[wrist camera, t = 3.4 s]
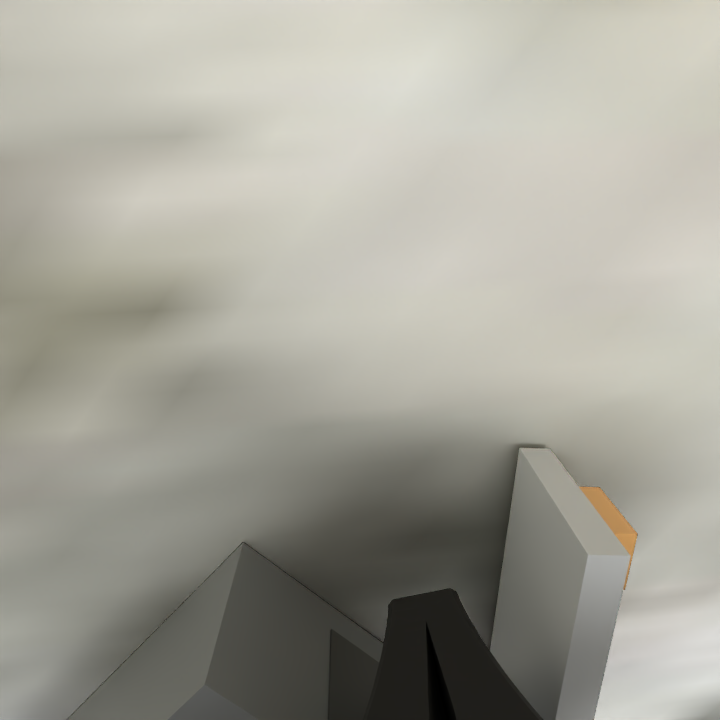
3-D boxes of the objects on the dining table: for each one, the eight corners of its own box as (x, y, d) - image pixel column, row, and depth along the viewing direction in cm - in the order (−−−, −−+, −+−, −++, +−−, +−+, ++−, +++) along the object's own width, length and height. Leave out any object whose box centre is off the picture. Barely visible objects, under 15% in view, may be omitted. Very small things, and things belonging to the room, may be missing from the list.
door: (474, 715, 15) (515, 883, 12) (512, 447, 13) (579, 554, 9) (528, 716, 15) (585, 882, 12) (576, 449, 13) (667, 556, 9)
